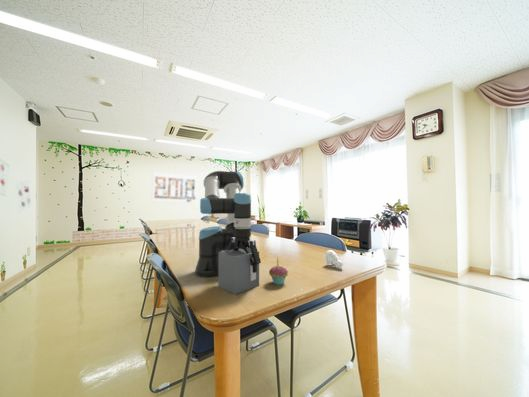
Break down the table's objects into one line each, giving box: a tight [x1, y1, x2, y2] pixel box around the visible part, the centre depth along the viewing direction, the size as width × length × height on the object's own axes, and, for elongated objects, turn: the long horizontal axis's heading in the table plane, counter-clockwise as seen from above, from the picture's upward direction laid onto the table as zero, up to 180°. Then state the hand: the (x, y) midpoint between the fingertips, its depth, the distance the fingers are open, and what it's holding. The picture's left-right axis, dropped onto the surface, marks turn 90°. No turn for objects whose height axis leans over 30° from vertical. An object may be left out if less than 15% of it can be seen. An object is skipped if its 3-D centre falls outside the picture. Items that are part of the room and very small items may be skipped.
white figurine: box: [324, 249, 344, 270], centre depth 115 cm, size 6×8×12 cm
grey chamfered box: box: [217, 249, 260, 295], centre depth 89 cm, size 12×13×15 cm
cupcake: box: [268, 257, 289, 286], centre depth 92 cm, size 9×8×12 cm
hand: (242, 276), depth 90 cm, fingers closed on grey chamfered box, 12 cm apart
